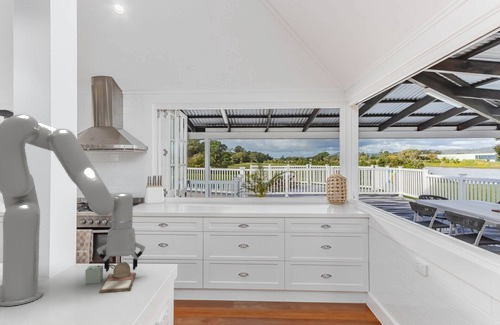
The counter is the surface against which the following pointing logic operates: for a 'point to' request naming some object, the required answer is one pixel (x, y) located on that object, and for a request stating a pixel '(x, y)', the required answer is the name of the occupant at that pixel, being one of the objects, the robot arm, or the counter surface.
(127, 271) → the decorative ornament
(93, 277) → the die
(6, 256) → the robot arm
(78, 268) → the counter surface
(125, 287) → the brown framed panel
